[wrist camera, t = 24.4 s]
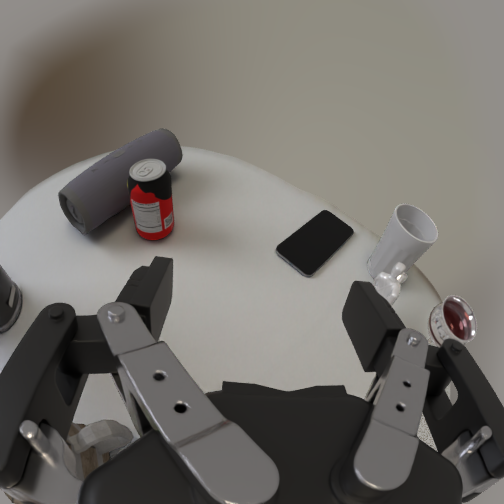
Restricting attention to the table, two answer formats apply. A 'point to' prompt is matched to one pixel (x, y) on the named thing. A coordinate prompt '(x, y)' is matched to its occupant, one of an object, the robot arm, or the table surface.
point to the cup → (403, 240)
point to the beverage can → (151, 198)
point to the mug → (93, 445)
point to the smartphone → (314, 242)
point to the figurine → (390, 283)
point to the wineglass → (452, 321)
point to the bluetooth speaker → (114, 180)
